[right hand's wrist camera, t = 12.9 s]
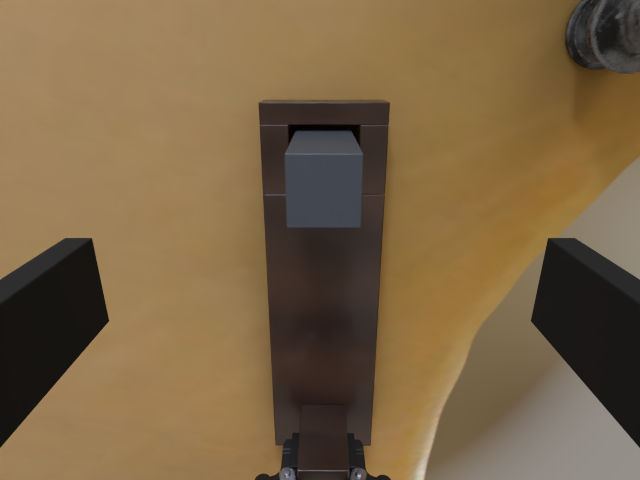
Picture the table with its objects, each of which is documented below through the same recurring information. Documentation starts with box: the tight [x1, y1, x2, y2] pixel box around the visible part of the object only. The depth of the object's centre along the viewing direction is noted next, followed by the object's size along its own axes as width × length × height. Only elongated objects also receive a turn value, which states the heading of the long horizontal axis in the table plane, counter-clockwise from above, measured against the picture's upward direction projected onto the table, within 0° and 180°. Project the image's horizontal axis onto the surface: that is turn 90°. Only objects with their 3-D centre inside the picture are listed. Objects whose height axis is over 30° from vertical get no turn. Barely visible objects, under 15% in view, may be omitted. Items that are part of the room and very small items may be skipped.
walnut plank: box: [259, 100, 390, 480], centre depth 33 cm, size 31×9×10 cm, turn 0°
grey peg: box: [285, 127, 364, 228], centre depth 28 cm, size 4×4×12 cm
